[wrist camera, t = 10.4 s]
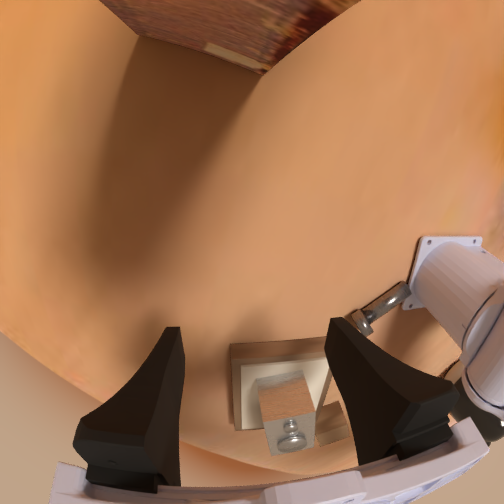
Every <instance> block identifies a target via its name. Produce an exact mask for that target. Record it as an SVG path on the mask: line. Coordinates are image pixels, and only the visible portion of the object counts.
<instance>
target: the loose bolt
mask: <svg viewBox="0 0 504 504" xmlns="http://www.w3.org/2000/svg"><path fill="white" fill-rule="evenodd" d="M410 295H412V293H411V290H410V288H409V287H408V285H407V284H406V283H405V282H404V281H402V282H401V283H399V284H398V285H397V286H395V287H394V288H392V289H391V290H390V291H388V292H387V293H385V294H384V295H383V296H381V297H380V298H378V299H377V300H375V301H374V302H373V303H371V304H370V305H368V306H367V307H365V308H364V309H362V310H360V309H359V310H357V311H356V312H354V313H353V314H351V316H352V318H353V320H354V321H355V323H356V325H357V326H358V328H359V330H360V331H361V333H362V334H363V335H364V336H365V337H367V336H369V335H370V334H372V333H373V330H372V328H371V326H370V324H371V323H372V322H374V321H375V320H377V319H378V318H380V317H381V316H383V315H384V314H386V313H387V312H388V311H390V310H391V309H393V308H394V307H395V306H397V305H398V304H400V303H401V302H402V301H404V300H405V299H406V298H408V297H409V296H410Z"/></svg>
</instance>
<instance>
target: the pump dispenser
mask: <svg viewBox="0 0 504 504" xmlns="http://www.w3.org/2000/svg"><path fill="white" fill-rule="evenodd" d="M464 367H465V366H464V365H463V363H462V362H461V361H458V362H457V363H456V364H455V365H454V366H453V367H452V368H451V369H450V370H449V371H448V373H447V374H446V376H445V378H444V379H446V380H450V381H452V383H453V384H454V386H455V387H456V389H457V390H458V392H459V394H460V396H459V399H458V401H457V403H456V404H455V406H454V407H453V408H452V410H451V411H450V412H449V414H450V415H451V416H452V417H453V418H454V419H455V420H456V421H457V422H460V421H462V420H463V419H465V418H467V417H470V418H471V419H472V421H473V422H474V424H475V426H476V427H477V429H478V431H479V432H480V434H481V436H482V437H483V439H484V441H485V442H486V444H487V446H488V447H489V446H490V444H491V442H494V441H497V440H499V439H501V438H502V437H504V422H503V421H502V420H501V419H500V418H498V417H497V416H495V415H494V414H492V413H490V412H487V411H484V410H482V409H480V408H479V407H477V406H476V405H475V404H474V403H473V402H472V401H471V400H470V398H469V397H468V395H467V393H466V391H465V389H464V386H463V383H462V371H463V369H464Z"/></svg>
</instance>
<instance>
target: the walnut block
mask: <svg viewBox="0 0 504 504" xmlns="http://www.w3.org/2000/svg"><path fill="white" fill-rule="evenodd" d="M315 434H316V437H317V440H318V442H319V445H320V447H321V446H324V445H327V444H330V443H333V442H336V441H339V440H341V439H344V438H347V437H350V436H349V430H348V424H347V422H346V419H345V416H344V414H343V411H342V408H341V406H340V403H339V401H336V402H333V403H331V404H328V405H325V406H322V409H321V412H320V415H319V417H318V420H317V422H315Z"/></svg>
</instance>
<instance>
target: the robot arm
mask: <svg viewBox="0 0 504 504" xmlns="http://www.w3.org/2000/svg"><path fill="white" fill-rule="evenodd" d="M428 241H429V242H428ZM427 242H428V243H427ZM481 244H482V237H480V236H423V237H422V238H421V239H420V241H419V245H418V249H417V254H416V257H415V261H414V265H413V269H412V272H411V276H410V280H409V283H408V287H409V288H410V290H411V293H412V295H410V296H409V297H408V298H406V299H405V300H404V301H403V303H402V306H401V307H402V309H403V310H411V309H417V308H423V307H425V308H426V309H427V310H428V311H429V312H430V313H431V314H432V315H433V317H434V318H435V319H436V320H437V321H438V322H439V323H440V325H441V326H442V327H443V328H444V329H445V330H446V332H447V333H448V334H449V335H450V336H451V338H452V339H453V340H454V341H455V342H456V344H457V345H458V346H459V347H460V348H461V350H462V353H461V355H460V357H459V359H460V361H461V362H462V363H463V365H464V366H465V367H464V369H463V371H462V383H463V386H464V389H465V391H466V393H467V395H468V397H469V398H470V400H471V401H472V402H473V403H474V404H475V405H476V406H477V407H479V408H480V409H482V410H484V411H487V412H490V413H492V414H494V415H495V416H497V417H498V418H500V419H501V420H502V421H503V422H504V263H503V262H502V261H501V260H499V259H498V258H496V257H495V256H494V255H492V254H491V253H489V252H488V251H487V250H485V249H484V248H482V247H481ZM324 351H325V354H326V358H327V362H328V365H329V368H330V370H331V372H332V375H333V377H334V380H335V382H336V384H337V386H338V389H339V391H340V393H341V396H342V398H343V401H344V403H345V406H346V409H347V413H348V416H349V420H350V424H351V428H352V432H353V436H354V441H355V446H356V451H357V458H358V464H359V466H357V467H354V468H350V469H346V470H342V471H338V472H334V473H330V474H325V475H320V476H315V477H310V478H304V479H298V480H292V481H285V482H278V483H269V484H260V485H249V486H232V487H181V480H180V464H179V413H180V406H181V398H182V391H183V384H184V377H185V354H184V349H183V343H182V337H181V332H180V327H166V328H165V330H164V332H163V333H162V335H161V337H160V339H159V340H158V342H157V344H156V345H155V347H154V349H153V350H152V352H151V353H150V355H149V356H148V358H147V359H146V360H145V362H144V363H143V364H142V366H141V367H140V368H139V370H138V371H137V372H136V373H135V374H134V376H133V377H132V378H131V379H130V380H129V381H128V382H127V383H126V384H125V385H124V386H123V387H122V388H121V389H120V390H119V391H118V392H117V393H116V394H115V395H114V396H113V397H111V398H110V399H109V400H107V401H106V402H105V403H104V404H102V405H101V406H100V407H98V408H97V409H95V410H94V411H92V412H90V413H89V414H87V415H86V416H84V417H82V418H81V419H80V422H79V424H78V426H77V429H76V433H75V436H74V440H73V447H74V449H75V450H76V452H77V453H78V454H79V455H80V456H81V457H82V458H83V459H84V460H85V461H86V462H87V463H88V468H87V470H86V469H84V468H82V467H79V466H75V465H71V464H67V463H63V462H58V463H57V467H56V471H55V476H54V480H53V484H52V489H51V494H50V499H49V504H409V503H411V502H413V501H415V500H417V499H419V498H421V497H423V496H425V495H427V494H429V493H430V492H432V491H434V490H436V489H438V488H440V487H441V486H443V485H445V484H447V483H448V482H450V481H452V480H454V479H456V478H457V477H459V476H461V475H462V474H464V473H465V472H466V471H467V470H469V469H470V468H471V467H472V466H474V465H475V464H476V463H477V462H478V461H479V460H481V459H482V458H483V457H484V456H485V455H486V454H487V453H488V452H489V451H490V449H489V447H488V446H487V444H486V442H485V441H484V439H483V437H482V436H481V434H480V432H479V431H478V429H477V427H476V426H475V424H474V422H473V421H472V419H471V418H470V417H467V418H465V419H463V420H462V421H460V422H458V423H456V424H454V425H453V426H451V427H449V425H448V424H447V423H449V422H450V419H449V418H448V416H447V415H448V414H449V412H450V411H451V410H452V408H453V407H454V406H455V404H456V403H457V401H458V399H459V396H460V394H459V392H458V390H457V389H456V387H455V386H454V384H453V383H452V381H450V380H446V379H442V378H439V377H435V376H432V375H430V374H427V373H424V372H422V371H419V370H417V369H415V368H413V367H411V366H408V365H406V364H405V363H403V362H401V361H399V360H397V359H396V358H394V357H392V356H391V355H389V354H388V353H386V352H385V351H383V350H382V349H381V348H379V347H378V346H376V345H375V344H374V343H373V342H371V341H370V340H369V339H368V338H366V337H365V336H364V335H363V334H362V333H360V332H359V331H358V330H357V329H356V328H354V327H353V326H352V325H351V324H350V323H349V322H347V321H346V320H345V319H344V318H343V317H337V318H330V323H329V328H328V332H327V337H326V341H325V346H324Z"/></svg>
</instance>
